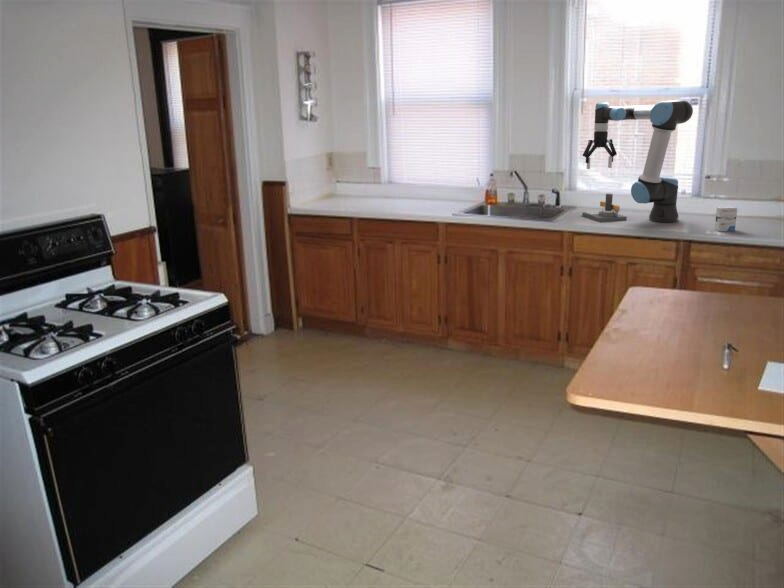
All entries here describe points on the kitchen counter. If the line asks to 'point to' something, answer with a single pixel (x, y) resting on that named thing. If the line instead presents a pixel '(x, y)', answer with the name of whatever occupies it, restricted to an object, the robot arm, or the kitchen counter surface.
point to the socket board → (604, 216)
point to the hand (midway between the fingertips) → (599, 168)
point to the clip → (614, 207)
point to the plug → (608, 204)
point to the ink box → (725, 218)
